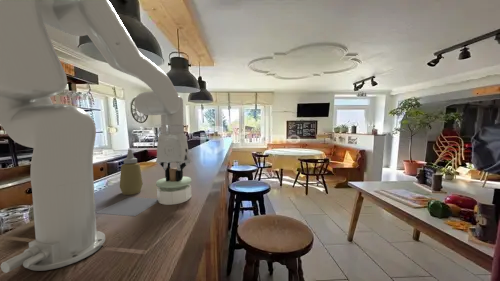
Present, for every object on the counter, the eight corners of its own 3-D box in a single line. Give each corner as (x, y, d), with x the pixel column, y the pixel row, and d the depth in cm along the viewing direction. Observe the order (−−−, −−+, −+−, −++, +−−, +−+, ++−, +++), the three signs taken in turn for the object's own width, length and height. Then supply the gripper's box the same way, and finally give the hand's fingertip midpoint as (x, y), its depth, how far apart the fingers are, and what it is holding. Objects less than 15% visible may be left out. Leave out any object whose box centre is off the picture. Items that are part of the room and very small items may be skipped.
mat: (135, 218, 58) (135, 216, 58) (94, 214, 60) (94, 213, 60) (163, 200, 72) (163, 198, 72) (129, 198, 74) (128, 196, 74)
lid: (181, 188, 65) (181, 172, 65) (148, 187, 67) (148, 171, 66) (196, 179, 77) (196, 165, 76) (168, 178, 79) (167, 164, 78)
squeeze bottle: (135, 197, 75) (133, 150, 74) (114, 197, 75) (112, 150, 74) (147, 190, 83) (145, 148, 82) (128, 190, 83) (126, 148, 82)
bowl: (181, 207, 66) (180, 192, 66) (151, 205, 68) (150, 191, 67) (195, 195, 77) (194, 183, 76) (169, 194, 78) (168, 182, 78)
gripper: (144, 130, 68) (146, 182, 69) (189, 130, 65) (190, 184, 67) (158, 130, 75) (159, 176, 77) (198, 130, 73) (199, 178, 74)
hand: (174, 179), depth 72 cm, fingers closed on lid, 3 cm apart
